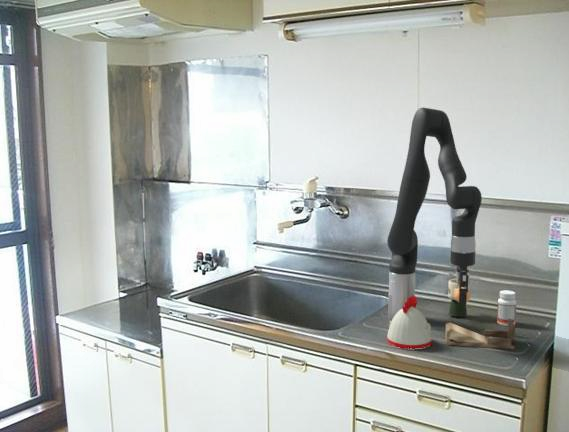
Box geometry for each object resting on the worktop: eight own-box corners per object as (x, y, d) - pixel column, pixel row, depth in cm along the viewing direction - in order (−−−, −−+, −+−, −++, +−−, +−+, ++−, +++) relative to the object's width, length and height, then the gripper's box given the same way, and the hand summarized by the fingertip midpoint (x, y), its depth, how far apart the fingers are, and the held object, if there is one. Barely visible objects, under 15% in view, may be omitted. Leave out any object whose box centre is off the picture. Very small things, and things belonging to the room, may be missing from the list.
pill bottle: (503, 319, 223) (504, 288, 222) (519, 323, 219) (520, 292, 217) (493, 323, 219) (494, 291, 218) (509, 327, 215) (510, 295, 213)
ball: (454, 304, 198) (454, 289, 197) (453, 300, 203) (453, 285, 202) (471, 305, 197) (471, 289, 196) (469, 300, 202) (469, 285, 201)
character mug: (451, 310, 234) (452, 277, 233) (471, 313, 231) (472, 279, 229) (444, 318, 225) (444, 283, 223) (464, 321, 222) (465, 285, 220)
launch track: (446, 350, 199) (447, 323, 197) (445, 341, 207) (445, 315, 206) (514, 354, 194) (515, 327, 193) (510, 345, 203) (511, 318, 202)
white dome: (438, 341, 202) (440, 296, 200) (418, 353, 192) (419, 305, 190) (400, 332, 211) (401, 289, 209) (379, 343, 201) (379, 298, 199)
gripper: (449, 245, 205) (448, 295, 208) (452, 253, 191) (451, 307, 194) (473, 245, 204) (472, 296, 206) (477, 254, 190) (476, 308, 192)
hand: (462, 301), depth 200 cm, fingers closed on ball, 5 cm apart
